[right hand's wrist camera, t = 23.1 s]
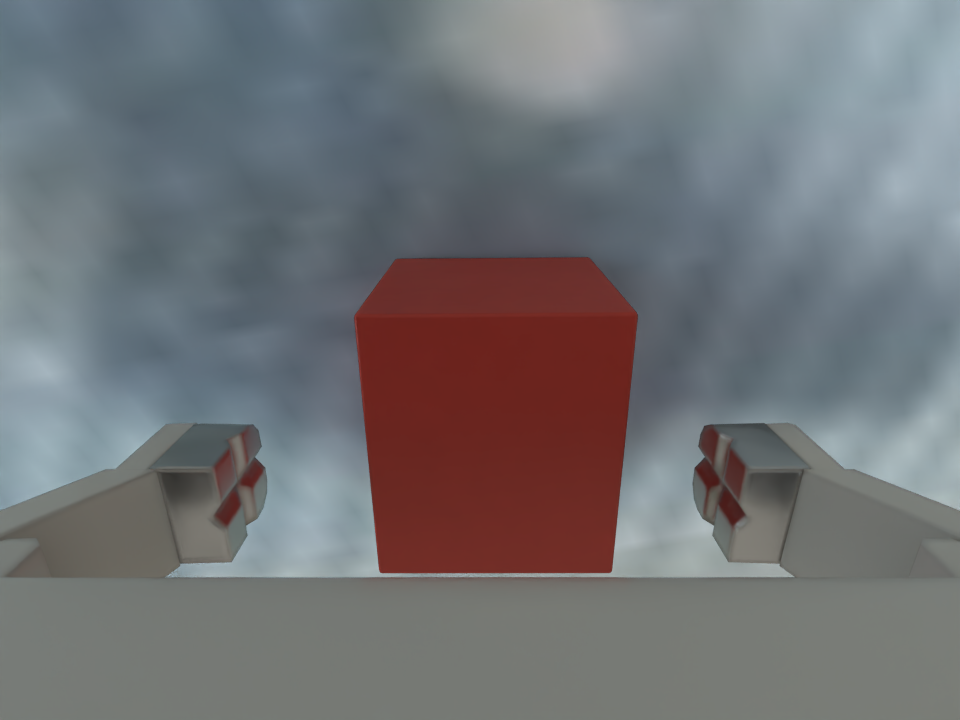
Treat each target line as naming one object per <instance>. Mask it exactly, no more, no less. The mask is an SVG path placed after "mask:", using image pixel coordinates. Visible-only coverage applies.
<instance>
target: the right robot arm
mask: <svg viewBox="0 0 960 720" xmlns="http://www.w3.org/2000/svg"><path fill="white" fill-rule="evenodd" d="M261 447H262V445H261V441H260V436H259V431H258V429H257V428H256V427H255V426H254V425H253V424H198V423H174V424H165V425H164V426H163V427H162V428H161V429H160V430H159V431H158V432H156V433H155V434H154V435H153V436H152V437H151V438H150V439H149V440H147V441H146V442H145V443H144V444H143V445H142V446H141V447H140V448H138V449H137V450H136V451H135V452H134V453H133V454H132V455H131V456H129V457H128V458H127V459H126V460H125V461H124V462H123V463H122V464H120V465H119V466H118V467H117V468H116V469H105V470H103V471H100V472H98V473H95V474H93V475H90V476H87V477H85V478H82V479H80V480H77V481H75V482H72V483H70V484H67V485H64V486H62V487H59V488H57V489H54V490H52V491H49V492H47V493H44V494H41V495H39V496H36V497H34V498H31V499H29V500H26V501H24V502H21V503H18V504H16V505H13V506H11V507H8V508H6V509H3V510H1V511H0V720H960V511H959V510H957V509H954V508H952V507H949V506H946V505H944V504H941V503H939V502H936V501H934V500H931V499H929V498H926V497H923V496H921V495H918V494H916V493H913V492H911V491H908V490H906V489H903V488H901V487H898V486H895V485H893V484H890V483H888V482H885V481H883V480H880V479H878V478H875V477H872V476H870V475H867V474H865V473H862V472H860V471H857V470H855V469H844V468H843V467H842V466H841V465H840V464H838V463H837V462H836V461H835V460H834V459H833V458H832V457H831V456H830V455H828V454H827V453H826V452H825V451H824V450H823V449H822V448H821V447H819V446H818V445H817V444H816V443H815V442H814V441H813V440H812V439H810V438H809V437H808V436H807V435H806V434H805V433H804V432H803V431H801V430H800V429H799V428H798V427H797V426H796V425H794V424H790V423H770V424H765V423H753V424H711V425H706V426H704V428H703V430H702V432H701V434H700V440H699V445H698V447H699V448H700V450H701V452H702V453H703V455H704V456H705V458H704V459H703V460H702V461H701V462H700V463H699V464H698V465H697V466H696V467H695V469H694V477H693V494H694V500H695V504H696V507H697V510H698V511H699V513H700V515H701V517H702V519H704V520H706V521H707V522H709V523H711V524H712V525H714V530H713V535H712V536H713V537H714V539H715V541H716V542H717V544H718V546H719V547H720V549H721V551H722V552H723V554H724V556H725V557H726V559H727V561H728V562H741V563H778V564H780V566H781V567H782V568H783V569H785V570H786V571H787V572H789V573H790V574H792V575H793V576H794V577H166V576H167V575H169V574H170V573H171V572H173V571H174V570H175V569H177V568H178V567H180V564H181V563H218V562H232V561H233V559H234V557H235V556H236V554H237V552H238V551H239V549H240V547H241V546H242V544H243V542H244V541H245V539H246V537H247V530H246V525H248V524H249V523H251V522H253V521H254V520H256V519H257V518H258V517H259V515H260V513H261V511H262V509H263V507H264V503H265V499H266V495H267V476H266V469H265V467H264V466H263V465H262V464H261V463H260V462H259V461H258V460H257V459H256V458H255V456H256V455H257V453H258V452H259V450H260V448H261Z"/></svg>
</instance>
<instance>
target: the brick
mask: <svg viewBox="0 0 960 720" xmlns="http://www.w3.org/2000/svg"><path fill="white" fill-rule="evenodd" d="M637 319H638V315H637V312H636V311H635V310H634V309H633V308H632V307H631V305H630V304H629V303H628V302H627V301H626V300H625V298H624V297H623V296H622V295H621V294H620V293H619V292H618V290H617V289H616V288H615V287H614V286H613V285H612V283H611V282H610V281H609V280H608V279H607V278H606V276H605V275H604V274H603V273H602V272H601V271H600V269H599V268H598V267H597V266H596V265H595V264H594V263H593V261H592V260H591V259H590V258H588V257H575V258H444V259H396V260H395V261H394V262H393V264H392V265H391V266H390V268H389V269H388V271H387V272H386V273H385V275H384V276H383V277H382V279H381V280H380V281H379V283H378V284H377V285H376V287H375V288H374V290H373V291H372V292H371V294H370V295H369V296H368V298H367V299H366V300H365V302H364V303H363V305H362V306H361V307H360V309H359V310H358V311H357V313H356V314H355V316H354V321H355V332H356V342H357V352H358V362H359V372H360V382H361V392H362V402H363V412H364V422H365V433H366V443H367V453H368V463H369V473H370V483H371V493H372V503H373V513H374V523H375V533H376V544H377V554H378V564H379V571H380V573H610V572H611V571H612V565H613V555H614V546H615V536H616V526H617V516H618V506H619V496H620V487H621V477H622V467H623V457H624V447H625V437H626V428H627V418H628V408H629V398H630V388H631V378H632V368H633V359H634V349H635V339H636V329H637Z"/></svg>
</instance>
